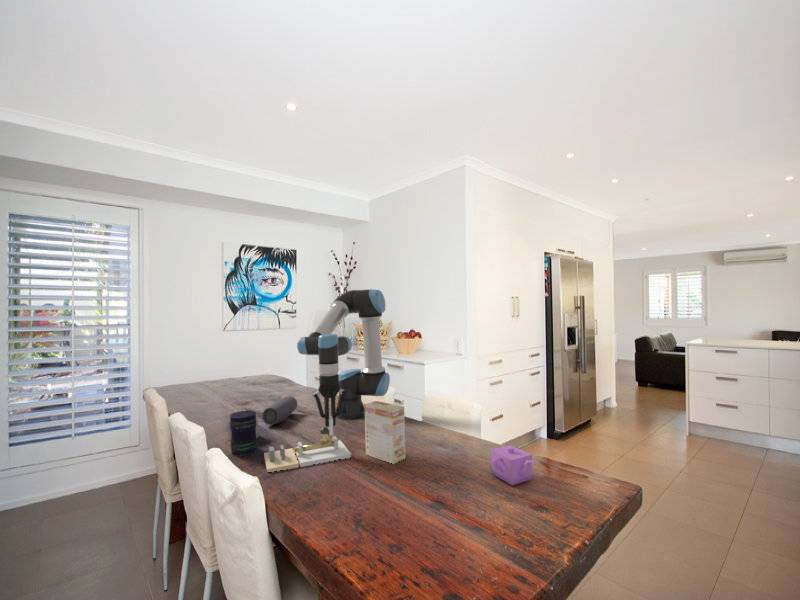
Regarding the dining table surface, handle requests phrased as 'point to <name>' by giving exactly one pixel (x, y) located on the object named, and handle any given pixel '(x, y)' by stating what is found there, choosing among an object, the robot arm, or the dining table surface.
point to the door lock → (304, 456)
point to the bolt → (323, 444)
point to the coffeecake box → (385, 431)
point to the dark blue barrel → (243, 433)
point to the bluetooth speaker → (279, 410)
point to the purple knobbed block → (511, 464)
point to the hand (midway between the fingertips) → (330, 434)
